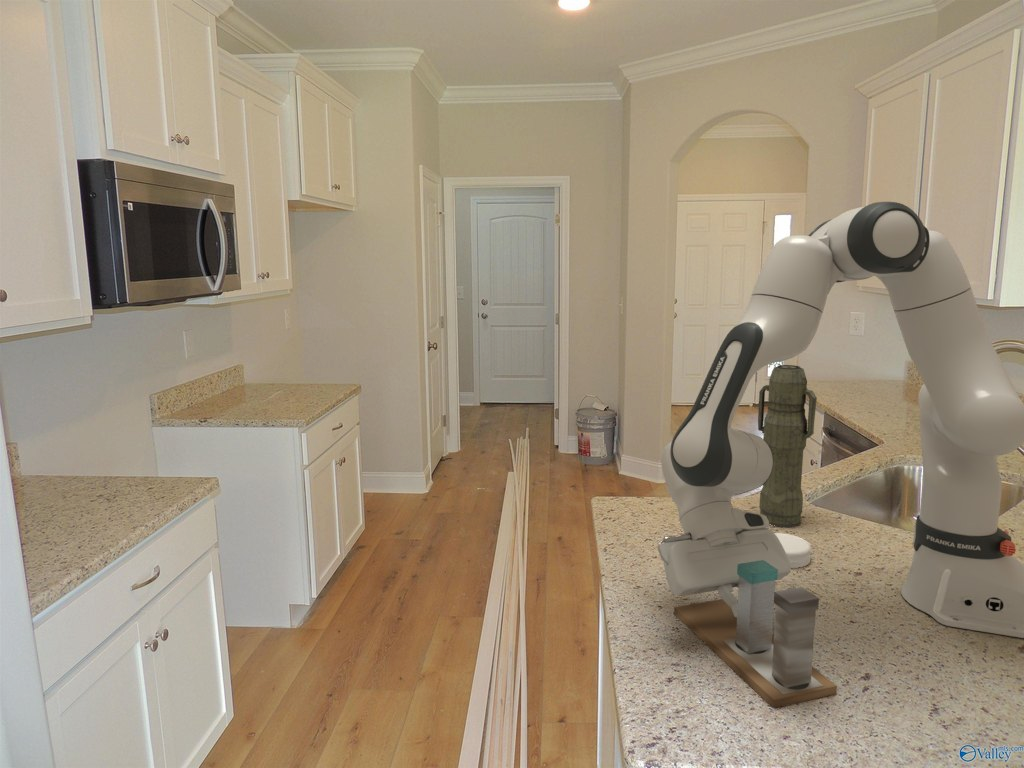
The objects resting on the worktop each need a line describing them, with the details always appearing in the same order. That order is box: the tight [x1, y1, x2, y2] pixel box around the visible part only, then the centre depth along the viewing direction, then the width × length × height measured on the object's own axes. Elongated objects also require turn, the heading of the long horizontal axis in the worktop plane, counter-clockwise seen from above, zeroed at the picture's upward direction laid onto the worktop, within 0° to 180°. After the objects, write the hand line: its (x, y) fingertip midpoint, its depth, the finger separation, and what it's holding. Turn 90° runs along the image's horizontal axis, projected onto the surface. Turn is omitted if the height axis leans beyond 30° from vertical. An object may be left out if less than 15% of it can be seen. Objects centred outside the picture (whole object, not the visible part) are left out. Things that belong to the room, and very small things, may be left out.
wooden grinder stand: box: [673, 586, 838, 709], centre depth 104 cm, size 26×10×14 cm, turn 17°
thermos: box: [757, 364, 817, 528], centre depth 153 cm, size 9×12×35 cm
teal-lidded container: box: [736, 560, 778, 653], centre depth 103 cm, size 3×4×13 cm
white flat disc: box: [773, 532, 812, 569], centre depth 137 cm, size 10×10×4 cm
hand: (746, 614), depth 105 cm, fingers closed
